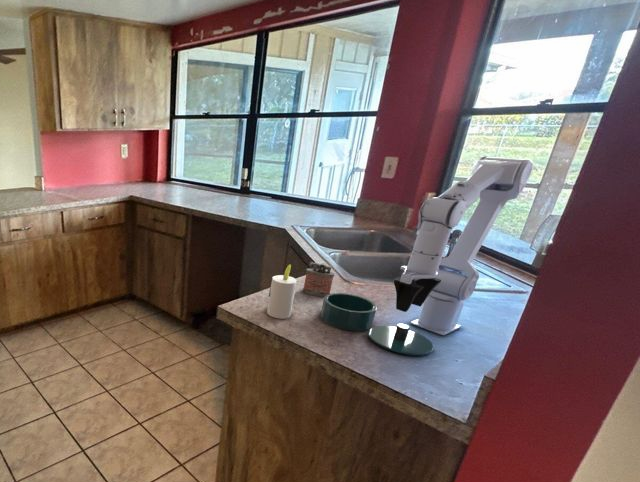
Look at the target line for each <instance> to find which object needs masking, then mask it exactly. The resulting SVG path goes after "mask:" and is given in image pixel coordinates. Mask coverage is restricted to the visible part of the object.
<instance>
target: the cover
mask: <svg viewBox="0 0 640 482" xmlns="http://www.w3.org/2000/svg"><path fill="white" fill-rule="evenodd" d="M367 331H368V332H367V336H368V337H369V339H370V340H371V341H373V343H375V344H376V345H378V346H380V347H382V348H383V349H387V350H389V351H391V352H395V353H399V354H403V355H409V356H425V355H428V354H430V353H432V352H433V350H434V344H433V343H432V342H431V340H429V339H428V338H426V337H425V336H423V335H422V334H420V333H417V332H415V331H412V330H411V327H410V326H409V325H408V324H404V323H398V324H397V325H396V326H391V325H377V326H372V327H371V328H370V329H368V330H367Z"/></svg>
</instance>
